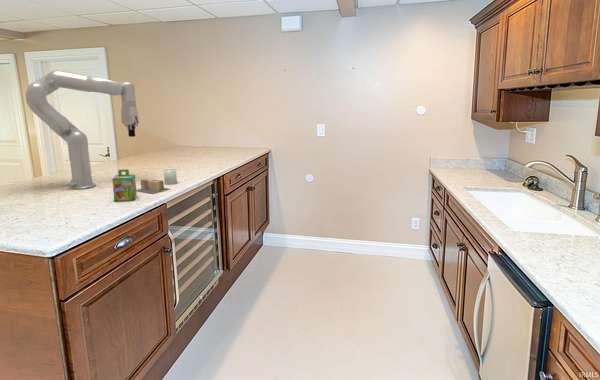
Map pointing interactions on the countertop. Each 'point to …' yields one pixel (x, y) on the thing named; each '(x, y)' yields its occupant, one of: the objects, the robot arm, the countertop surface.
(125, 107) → the robot arm
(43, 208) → the countertop surface
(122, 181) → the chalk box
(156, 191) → the mat
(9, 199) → the countertop surface
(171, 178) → the white small cylinder
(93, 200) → the countertop surface
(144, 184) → the block
